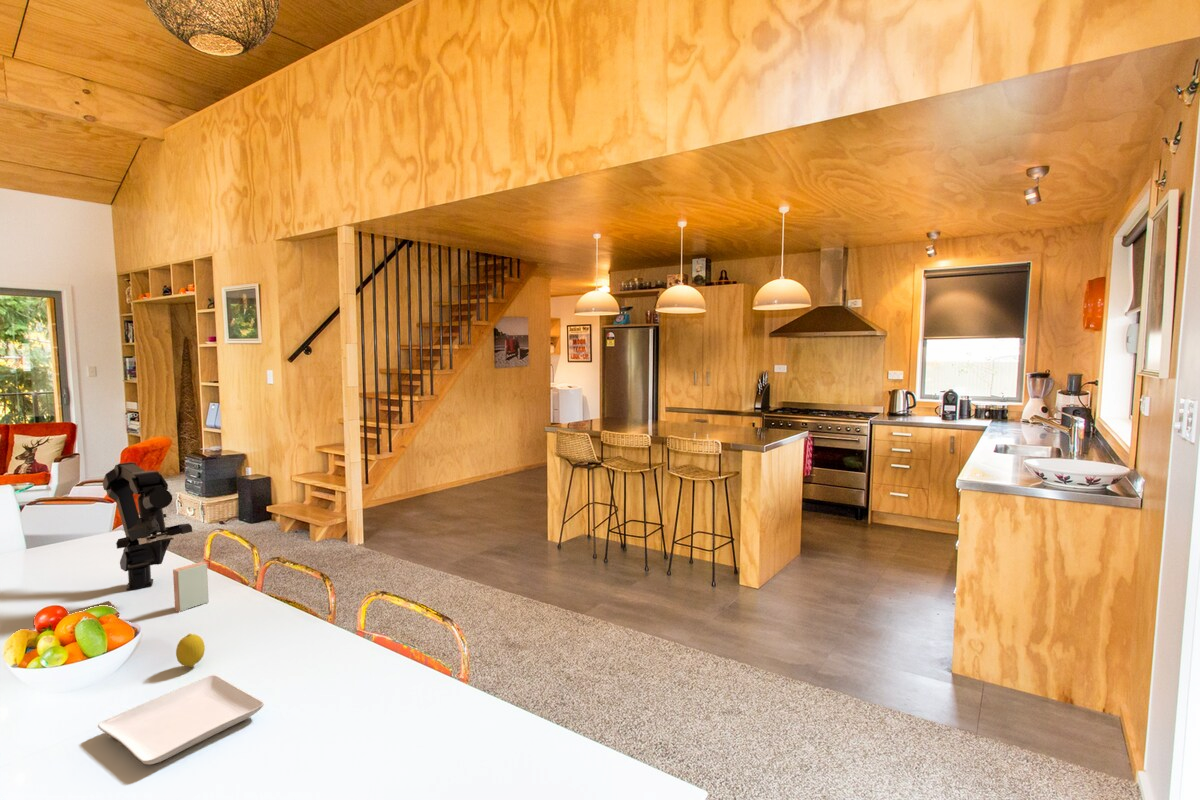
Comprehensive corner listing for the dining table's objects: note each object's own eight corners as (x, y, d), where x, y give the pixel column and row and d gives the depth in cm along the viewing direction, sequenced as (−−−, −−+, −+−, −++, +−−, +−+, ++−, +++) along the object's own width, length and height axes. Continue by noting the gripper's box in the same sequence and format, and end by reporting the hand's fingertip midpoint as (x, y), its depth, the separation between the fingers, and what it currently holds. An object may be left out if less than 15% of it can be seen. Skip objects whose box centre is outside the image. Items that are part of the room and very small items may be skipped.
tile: (175, 610, 174) (172, 569, 173) (204, 600, 181) (202, 561, 180) (179, 612, 173) (177, 571, 172) (209, 602, 180) (207, 562, 179)
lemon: (210, 664, 143) (209, 631, 143) (186, 675, 138) (184, 641, 138) (196, 659, 146) (194, 626, 145) (171, 670, 141) (169, 636, 140)
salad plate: (145, 780, 104) (144, 761, 104) (95, 739, 116) (94, 722, 115) (267, 718, 122) (267, 701, 122) (214, 688, 134) (213, 673, 133)
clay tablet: (121, 616, 171) (120, 607, 171) (75, 630, 163) (74, 620, 163) (103, 605, 179) (103, 596, 179) (59, 617, 171) (58, 607, 171)
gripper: (98, 522, 174) (106, 576, 173) (166, 506, 176) (175, 560, 174) (125, 519, 185) (133, 570, 184) (189, 505, 187) (197, 555, 186)
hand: (159, 564), depth 181 cm, fingers closed
